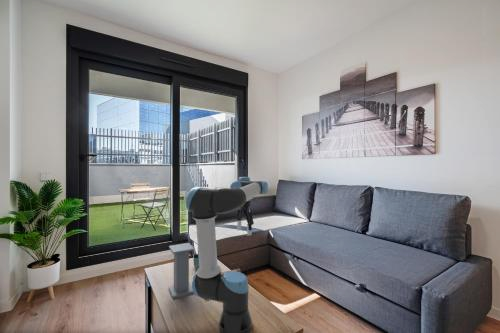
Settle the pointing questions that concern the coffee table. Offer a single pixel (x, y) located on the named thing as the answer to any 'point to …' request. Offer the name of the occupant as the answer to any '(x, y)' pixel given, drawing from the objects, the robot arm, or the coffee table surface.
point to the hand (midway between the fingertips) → (244, 232)
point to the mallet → (232, 271)
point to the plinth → (181, 270)
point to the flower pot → (196, 261)
